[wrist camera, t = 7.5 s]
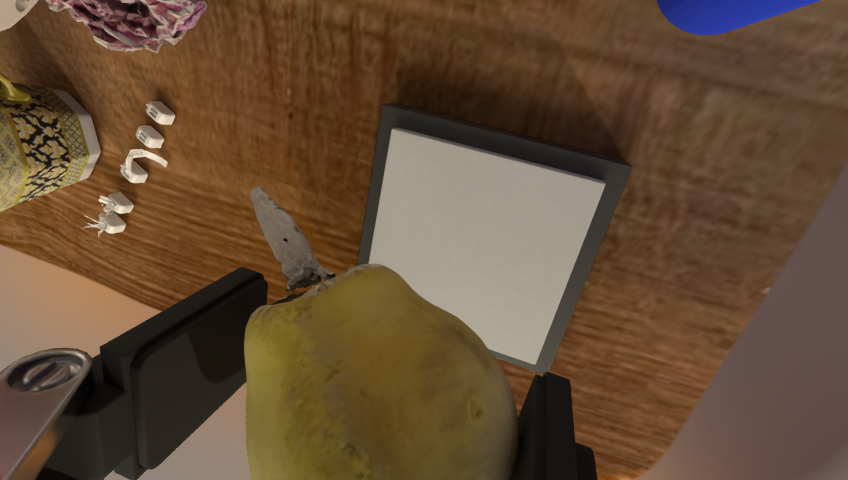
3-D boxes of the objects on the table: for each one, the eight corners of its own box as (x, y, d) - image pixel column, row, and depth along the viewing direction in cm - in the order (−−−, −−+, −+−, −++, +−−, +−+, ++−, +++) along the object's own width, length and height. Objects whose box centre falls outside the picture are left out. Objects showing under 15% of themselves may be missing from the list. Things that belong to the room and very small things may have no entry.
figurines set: (159, 98, 28) (119, 95, 26) (189, 125, 28) (151, 125, 26) (105, 222, 33) (65, 231, 30) (129, 246, 33) (92, 257, 30)
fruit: (357, 107, 10) (615, 440, 10) (274, 229, 14) (454, 469, 14) (79, 164, 6) (525, 775, 5) (74, 318, 10) (328, 674, 9)
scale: (362, 294, 29) (344, 313, 26) (394, 102, 24) (376, 104, 21) (547, 357, 27) (547, 384, 24) (625, 159, 22) (636, 168, 19)
